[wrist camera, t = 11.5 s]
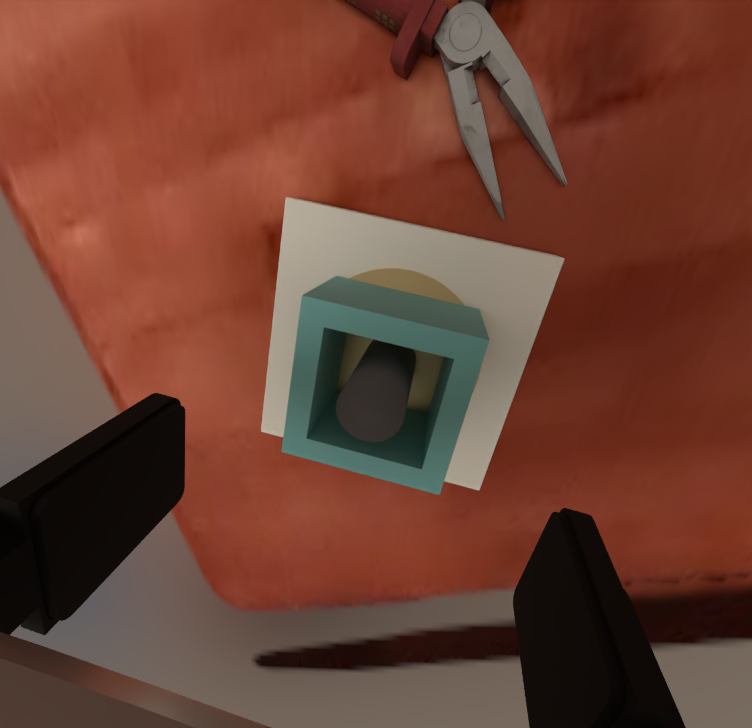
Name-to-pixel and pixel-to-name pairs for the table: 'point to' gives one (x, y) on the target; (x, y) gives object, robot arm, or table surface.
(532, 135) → the pliers
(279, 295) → the post stand
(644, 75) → the table surface
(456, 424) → the collar
